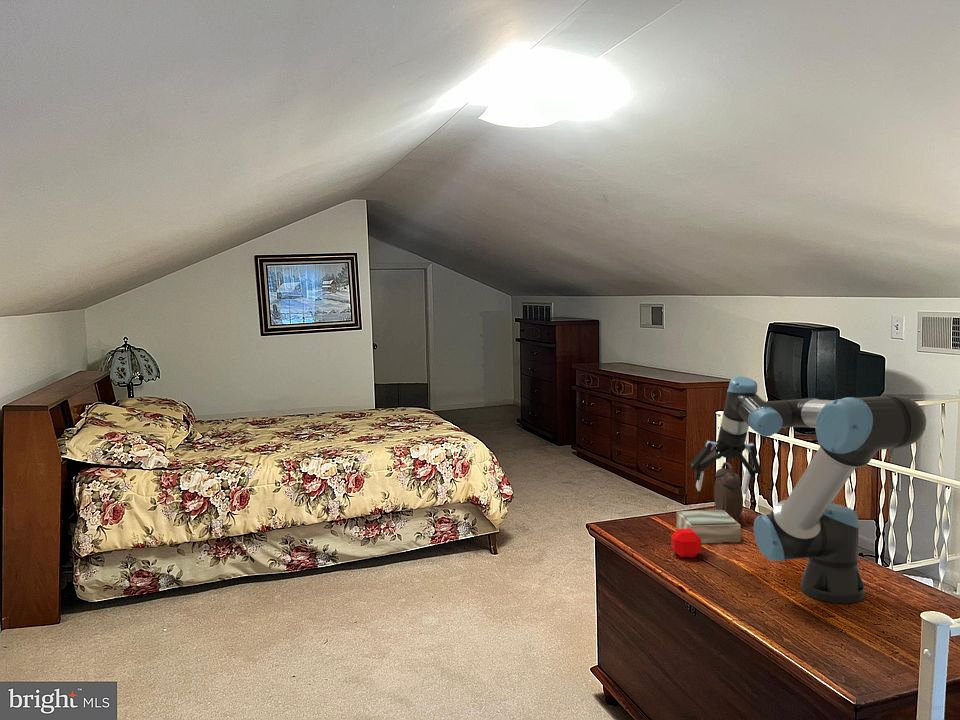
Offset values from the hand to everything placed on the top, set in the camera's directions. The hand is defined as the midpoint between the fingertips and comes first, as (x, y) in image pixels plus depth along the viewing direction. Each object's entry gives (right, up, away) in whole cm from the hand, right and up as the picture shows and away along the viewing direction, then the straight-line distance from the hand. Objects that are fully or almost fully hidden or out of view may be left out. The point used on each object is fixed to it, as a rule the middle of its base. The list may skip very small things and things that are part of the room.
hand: (720, 490), depth 221 cm
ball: (-10, -20, +2) cm, 23 cm away
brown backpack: (+14, -17, +35) cm, 42 cm away
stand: (+2, -18, +20) cm, 27 cm away
